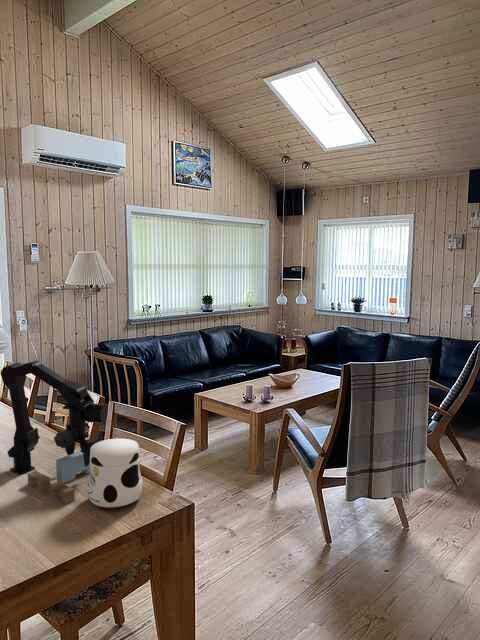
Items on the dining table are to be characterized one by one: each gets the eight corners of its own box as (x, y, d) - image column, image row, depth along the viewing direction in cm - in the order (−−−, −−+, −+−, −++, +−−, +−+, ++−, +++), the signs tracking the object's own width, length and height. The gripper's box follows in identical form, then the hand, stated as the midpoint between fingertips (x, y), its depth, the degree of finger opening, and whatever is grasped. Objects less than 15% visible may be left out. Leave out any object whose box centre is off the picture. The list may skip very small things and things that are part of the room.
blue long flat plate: (56, 481, 173) (56, 459, 172) (94, 466, 186) (94, 446, 185) (61, 484, 172) (61, 462, 171) (99, 468, 185) (99, 448, 184)
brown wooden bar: (28, 484, 171) (27, 473, 170) (36, 481, 173) (35, 470, 173) (66, 504, 158) (65, 492, 157) (74, 500, 160) (74, 488, 160)
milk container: (77, 500, 160) (75, 447, 158) (121, 483, 173) (121, 433, 171) (108, 519, 149) (107, 462, 147) (153, 499, 162) (153, 446, 160)
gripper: (41, 421, 176) (43, 463, 177) (73, 433, 165) (75, 477, 167) (69, 413, 184) (70, 454, 186) (101, 424, 173) (102, 466, 175)
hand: (78, 463), depth 178 cm, fingers open, 9 cm apart
